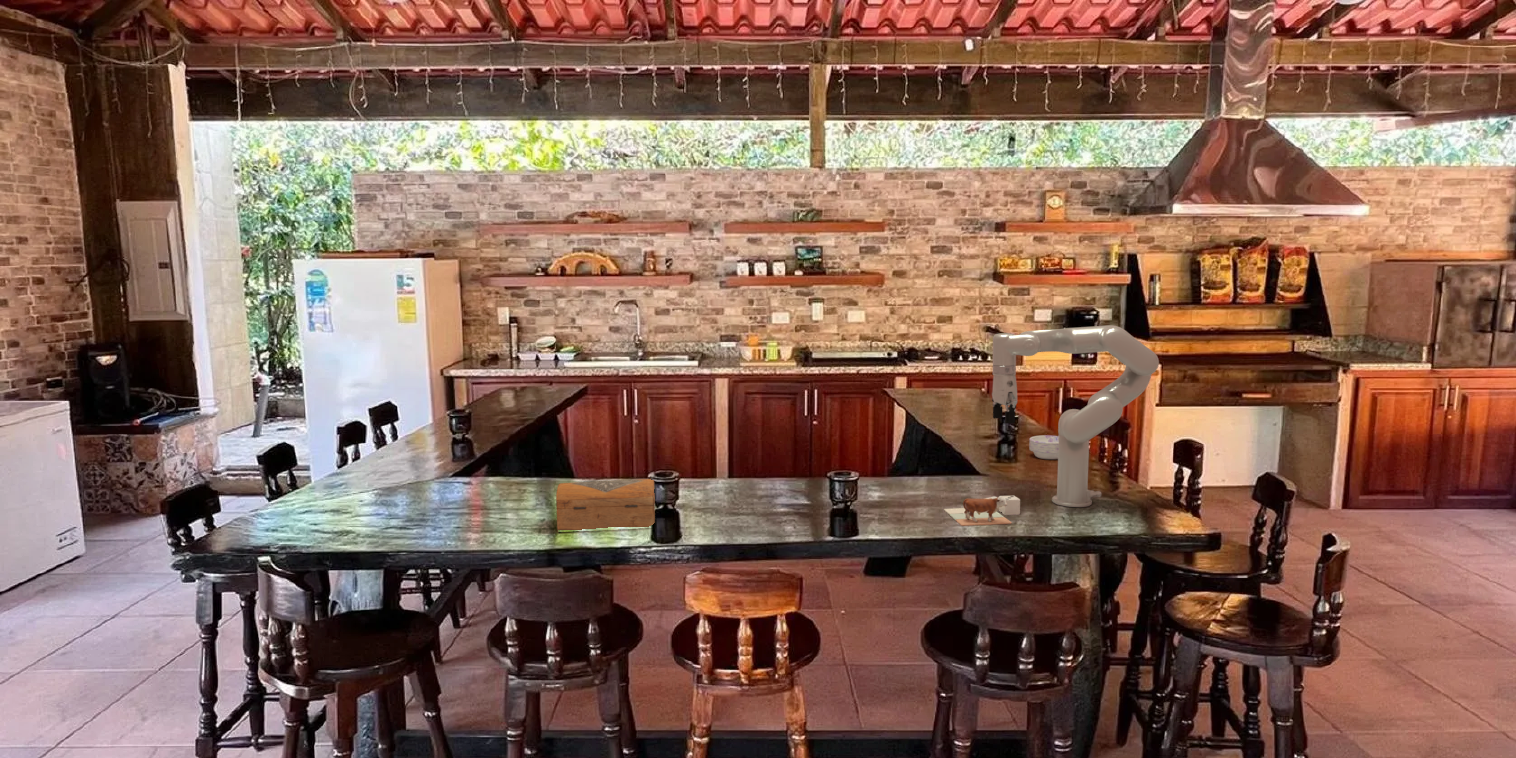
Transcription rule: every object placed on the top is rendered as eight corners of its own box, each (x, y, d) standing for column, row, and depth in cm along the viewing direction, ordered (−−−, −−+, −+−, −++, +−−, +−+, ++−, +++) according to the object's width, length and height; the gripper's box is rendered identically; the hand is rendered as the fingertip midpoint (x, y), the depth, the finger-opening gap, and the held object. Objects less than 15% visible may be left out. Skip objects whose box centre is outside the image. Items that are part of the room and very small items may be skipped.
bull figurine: (1007, 523, 271) (1008, 497, 270) (963, 522, 272) (963, 496, 271) (1005, 519, 275) (1006, 494, 274) (961, 518, 277) (962, 493, 276)
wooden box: (655, 514, 287) (654, 473, 286) (655, 529, 271) (654, 486, 269) (562, 518, 284) (561, 477, 283) (556, 534, 268) (554, 490, 266)
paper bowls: (1022, 458, 362) (1023, 439, 361) (1037, 451, 373) (1038, 433, 372) (1059, 463, 352) (1059, 443, 351) (1073, 456, 364) (1073, 437, 363)
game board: (990, 508, 289) (990, 506, 289) (1011, 523, 272) (1011, 522, 272) (943, 510, 288) (943, 508, 288) (961, 525, 270) (961, 524, 270)
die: (1013, 510, 287) (1014, 495, 286) (1019, 514, 282) (1020, 499, 281) (998, 511, 286) (999, 495, 285) (1004, 515, 281) (1005, 500, 281)
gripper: (1026, 372, 286) (1025, 424, 288) (1003, 367, 303) (1003, 415, 305) (1004, 373, 285) (1004, 425, 287) (983, 368, 302) (982, 417, 304)
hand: (1003, 420), depth 296 cm, fingers open, 9 cm apart
